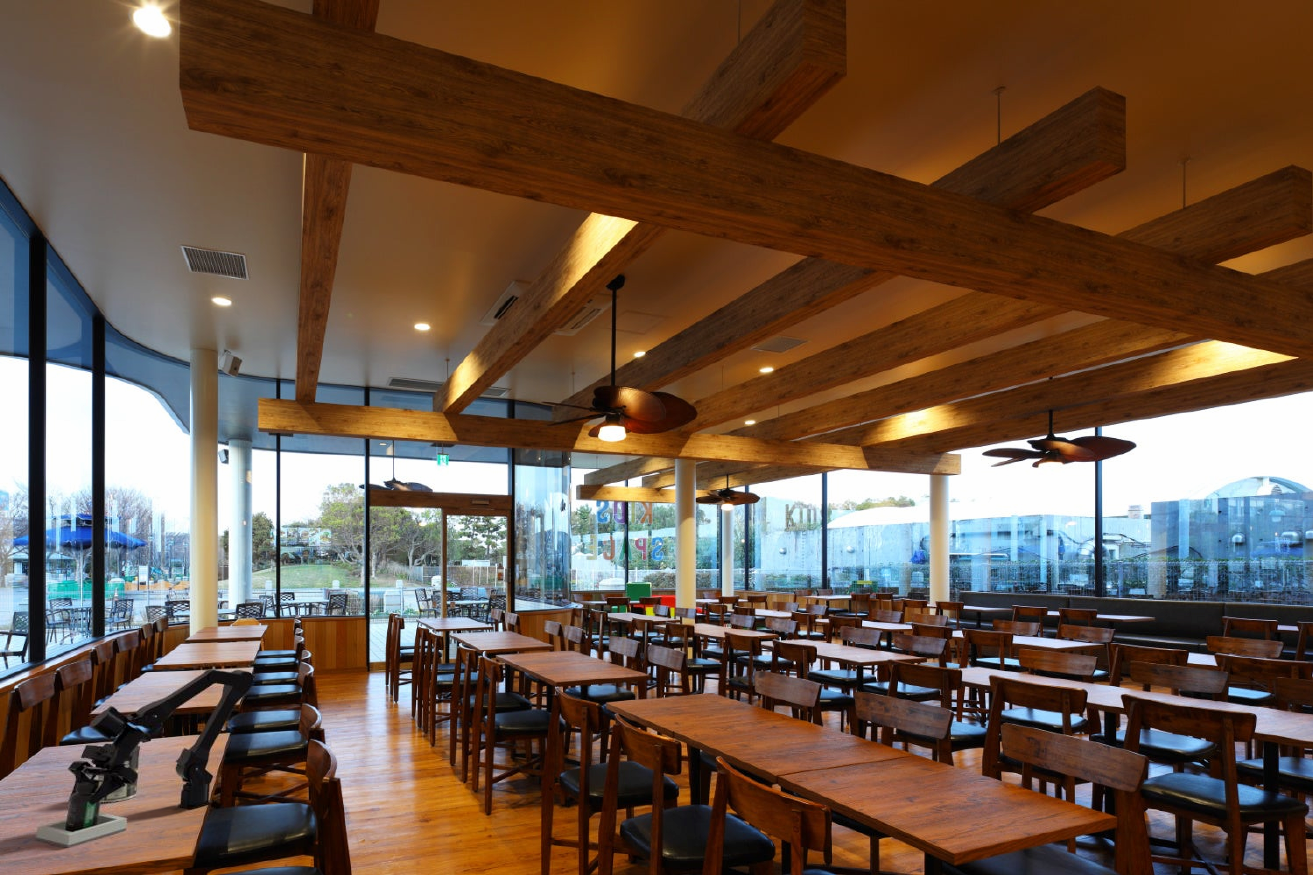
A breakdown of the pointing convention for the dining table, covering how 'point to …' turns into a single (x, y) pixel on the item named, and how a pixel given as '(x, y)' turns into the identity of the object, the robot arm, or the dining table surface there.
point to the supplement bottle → (83, 806)
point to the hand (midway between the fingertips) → (80, 802)
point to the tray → (81, 831)
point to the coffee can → (128, 790)
